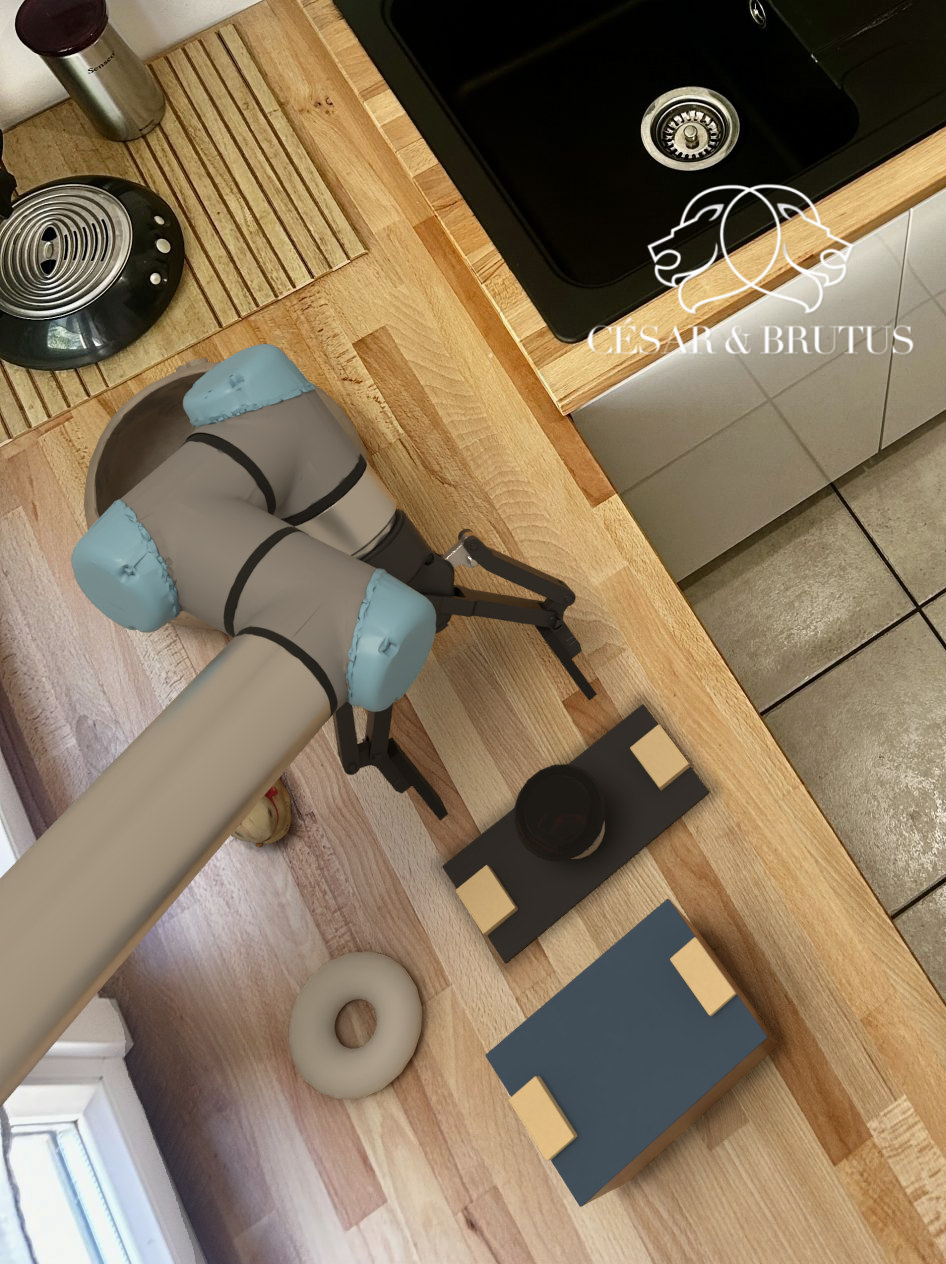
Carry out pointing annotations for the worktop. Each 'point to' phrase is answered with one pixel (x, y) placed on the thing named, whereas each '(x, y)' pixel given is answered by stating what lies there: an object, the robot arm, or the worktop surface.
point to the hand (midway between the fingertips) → (515, 749)
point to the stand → (708, 1098)
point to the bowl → (157, 444)
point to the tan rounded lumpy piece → (267, 818)
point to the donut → (388, 1047)
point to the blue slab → (624, 1051)
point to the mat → (546, 890)
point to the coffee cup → (560, 813)
